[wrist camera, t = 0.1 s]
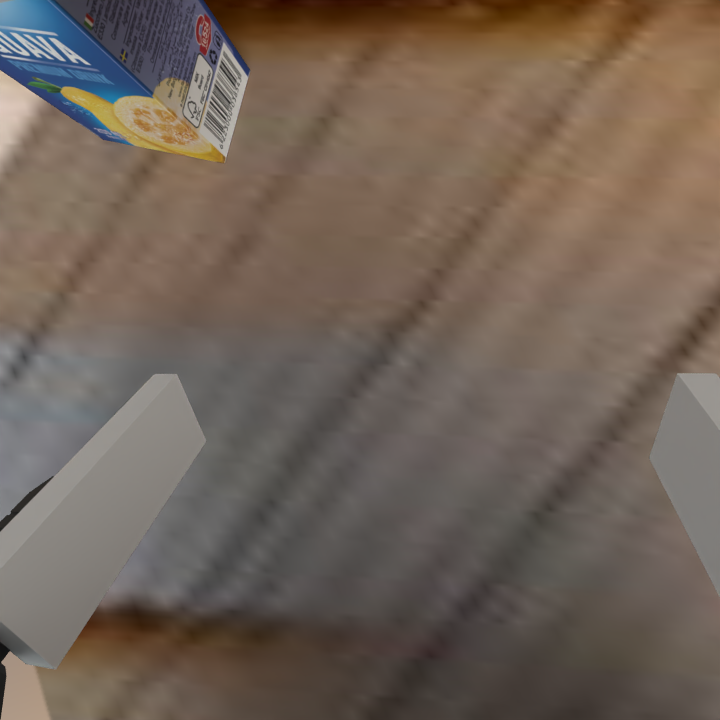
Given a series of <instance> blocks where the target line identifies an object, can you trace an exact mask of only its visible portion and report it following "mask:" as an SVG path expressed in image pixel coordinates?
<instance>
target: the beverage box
mask: <svg viewBox="0 0 720 720" xmlns="http://www.w3.org/2000/svg"><path fill="white" fill-rule="evenodd" d="M0 70H1V71H2V72H4V73H5V74H7V75H8V76H10V77H11V78H13V79H14V80H16V81H17V82H19V83H20V84H22V85H23V86H25V87H26V88H28V89H29V90H31V91H32V92H34V93H35V94H37V95H38V96H39V97H41V98H42V99H44V100H45V101H47V102H48V103H50V104H51V105H53V106H54V107H56V108H57V109H59V110H60V111H62V112H63V113H65V114H66V115H68V116H69V117H71V118H72V119H73V120H75V121H76V122H78V123H79V124H81V125H82V126H84V127H85V128H87V129H88V130H90V131H91V132H93V133H94V134H96V135H97V136H99V137H100V138H102V139H103V140H107V141H113V142H118V143H123V144H128V145H133V146H138V147H143V148H148V149H153V150H158V151H164V152H169V153H174V154H179V155H184V156H189V157H194V158H199V159H204V160H209V161H215V162H220V163H225V161H226V157H227V154H228V150H229V146H230V143H231V139H232V135H233V132H234V128H235V124H236V121H237V117H238V114H239V110H240V106H241V103H242V99H243V95H244V92H245V88H246V84H247V81H248V77H249V73H250V69H249V68H248V66H247V65H246V63H245V62H244V60H243V59H242V57H241V56H240V54H239V53H238V51H237V50H236V48H235V47H234V45H233V44H232V42H231V41H230V39H229V38H228V36H227V35H226V33H225V32H224V30H223V29H222V27H221V26H220V24H219V23H218V21H217V20H216V18H215V17H214V15H213V14H212V12H211V11H210V9H209V8H208V6H207V5H206V3H205V2H204V0H0Z"/></svg>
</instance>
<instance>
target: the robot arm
mask: <svg viewBox="0 0 720 720" xmlns="http://www.w3.org/2000/svg"><path fill="white" fill-rule="evenodd" d="M205 443H206V439H205V437H204V435H203V432H202V430H201V428H200V425H199V423H198V421H197V419H196V416H195V414H194V412H193V410H192V407H191V405H190V403H189V400H188V398H187V396H186V394H185V391H184V389H183V387H182V384H181V382H180V380H179V378H178V375H177V374H154V375H153V376H152V377H151V378H150V379H149V380H148V381H147V382H146V383H145V384H144V385H143V386H142V387H141V388H140V389H139V390H138V391H137V392H136V393H135V394H134V395H133V396H132V397H131V398H130V400H129V401H128V402H127V403H126V404H125V405H124V406H123V407H122V408H121V409H120V410H119V411H118V412H117V413H116V414H115V415H114V416H113V417H112V418H111V419H110V420H109V421H108V422H107V423H106V424H105V425H104V426H103V427H102V428H101V429H100V430H99V431H98V432H97V433H96V434H95V435H94V436H93V437H92V438H91V439H90V440H89V441H88V443H87V444H86V445H85V446H84V447H83V448H82V449H81V450H80V451H79V452H78V453H77V454H76V455H75V456H74V457H73V458H72V459H71V460H70V461H69V462H68V463H67V464H66V465H65V466H64V467H63V468H62V469H61V470H60V471H59V472H58V473H57V474H56V475H55V476H53V477H51V478H50V479H48V480H47V481H45V482H44V483H42V484H41V485H40V486H38V487H37V488H35V489H34V490H32V491H31V492H29V493H28V494H27V495H26V496H25V497H24V499H23V500H22V501H21V502H20V503H19V504H18V505H17V506H16V507H15V508H14V509H13V510H12V511H11V514H10V515H7V516H6V517H5V518H4V519H3V520H2V521H1V522H0V719H1V712H2V705H3V697H4V690H5V682H6V669H5V666H4V665H3V664H2V663H1V661H2V660H3V659H4V658H5V656H6V655H7V654H8V652H9V651H11V652H12V653H13V654H14V655H16V656H17V657H18V658H19V659H20V660H22V661H23V662H24V663H25V664H29V665H34V666H40V667H45V668H51V669H57V667H58V666H59V664H60V663H61V661H62V660H63V658H64V656H65V655H66V653H67V652H68V650H69V649H70V647H71V646H72V644H73V643H74V641H75V640H76V638H77V637H78V635H79V634H80V632H81V631H82V629H83V628H84V626H85V625H86V623H87V622H88V620H89V619H90V617H91V616H92V614H93V613H94V611H95V610H96V608H97V607H98V605H99V603H100V602H101V600H102V599H103V597H104V596H105V594H106V593H107V591H108V590H109V588H110V587H111V585H112V584H113V582H114V581H115V579H116V578H117V576H118V575H119V573H120V572H121V570H122V569H123V567H124V566H125V564H126V563H127V561H128V560H129V558H130V557H131V555H132V553H133V552H134V550H135V549H136V547H137V546H138V544H139V543H140V541H141V540H142V538H143V537H144V535H145V534H146V532H147V531H148V529H149V528H150V526H151V525H152V523H153V522H154V520H155V519H156V517H157V516H158V514H159V513H160V511H161V510H162V508H163V507H164V505H165V503H166V502H167V500H168V499H169V497H170V496H171V494H172V493H173V491H174V490H175V488H176V487H177V485H178V484H179V482H180V481H181V479H182V478H183V476H184V475H185V473H186V472H187V470H188V469H189V467H190V466H191V464H192V463H193V461H194V460H195V458H196V457H197V455H198V454H199V452H200V450H201V449H202V447H203V446H204V444H205ZM649 459H650V461H651V463H652V465H653V467H654V469H655V471H656V473H657V475H658V477H659V478H660V480H661V482H662V484H663V486H664V488H665V490H666V492H667V494H668V496H669V498H670V500H671V502H672V504H673V506H674V508H675V510H676V512H677V514H678V516H679V518H680V520H681V522H682V524H683V526H684V528H685V530H686V532H687V534H688V536H689V538H690V540H691V542H692V544H693V546H694V548H695V550H696V552H697V553H698V555H699V557H700V559H701V561H702V563H703V565H704V567H705V569H706V571H707V573H708V575H709V577H710V579H711V581H712V583H713V585H714V587H715V589H716V591H717V593H718V595H719V597H720V378H719V377H718V375H717V374H716V373H677V376H676V379H675V382H674V385H673V388H672V391H671V394H670V397H669V400H668V403H667V406H666V409H665V412H664V415H663V418H662V421H661V424H660V427H659V430H658V433H657V436H656V439H655V442H654V445H653V448H652V451H651V453H650V456H649Z"/></svg>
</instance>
